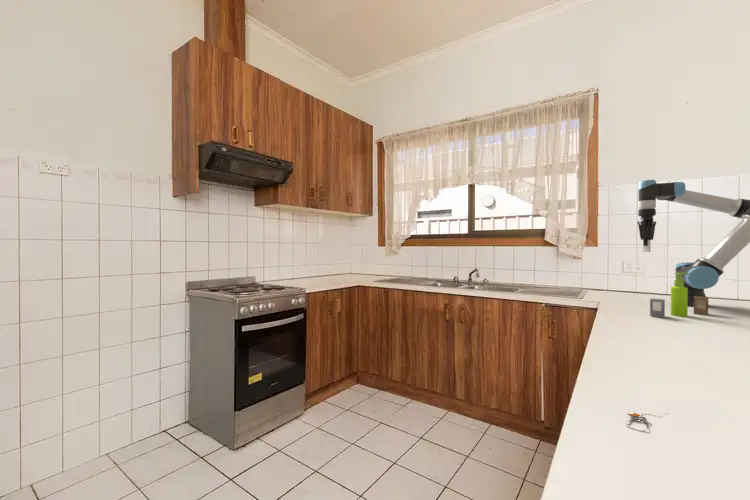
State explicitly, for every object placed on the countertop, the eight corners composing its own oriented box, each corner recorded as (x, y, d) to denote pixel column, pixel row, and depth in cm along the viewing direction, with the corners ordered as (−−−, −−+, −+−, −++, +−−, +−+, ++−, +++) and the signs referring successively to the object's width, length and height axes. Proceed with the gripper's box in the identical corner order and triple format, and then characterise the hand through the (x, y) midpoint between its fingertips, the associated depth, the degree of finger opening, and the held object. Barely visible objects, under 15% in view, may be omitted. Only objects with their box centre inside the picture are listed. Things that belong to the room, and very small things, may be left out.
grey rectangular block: (650, 314, 164) (650, 298, 164) (664, 316, 161) (664, 299, 161) (650, 316, 161) (650, 299, 161) (664, 317, 157) (664, 300, 157)
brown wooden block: (693, 312, 170) (693, 296, 170) (707, 313, 166) (707, 297, 166) (693, 314, 166) (693, 297, 166) (708, 315, 162) (708, 298, 162)
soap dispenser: (693, 316, 160) (693, 273, 160) (677, 316, 160) (678, 273, 160) (682, 314, 166) (682, 272, 165) (667, 314, 166) (667, 272, 166)
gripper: (646, 209, 196) (646, 251, 196) (632, 209, 191) (632, 251, 191) (662, 208, 189) (661, 251, 189) (647, 207, 184) (647, 252, 184)
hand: (646, 251), depth 190 cm, fingers closed
